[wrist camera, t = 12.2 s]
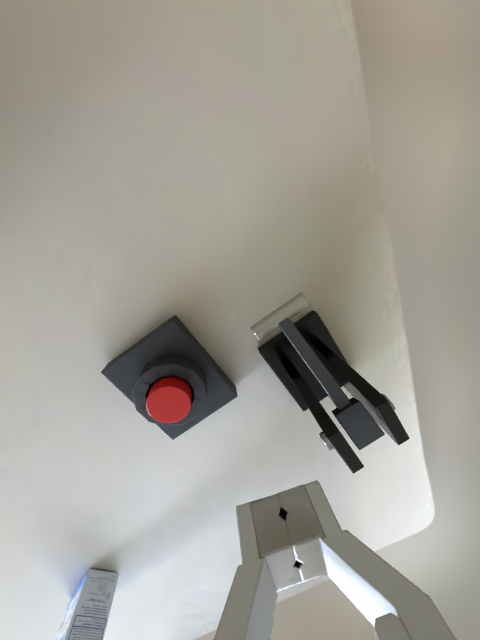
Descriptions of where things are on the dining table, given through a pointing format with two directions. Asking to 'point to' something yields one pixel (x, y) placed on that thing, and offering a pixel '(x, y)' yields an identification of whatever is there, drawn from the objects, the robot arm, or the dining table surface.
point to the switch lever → (321, 373)
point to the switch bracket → (311, 392)
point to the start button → (169, 400)
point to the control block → (171, 374)
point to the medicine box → (89, 607)
